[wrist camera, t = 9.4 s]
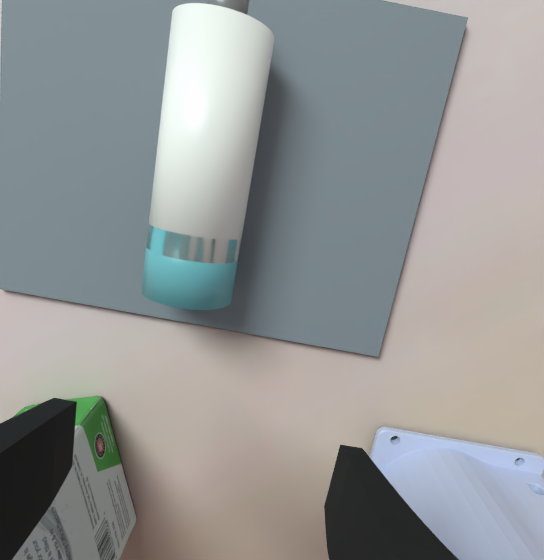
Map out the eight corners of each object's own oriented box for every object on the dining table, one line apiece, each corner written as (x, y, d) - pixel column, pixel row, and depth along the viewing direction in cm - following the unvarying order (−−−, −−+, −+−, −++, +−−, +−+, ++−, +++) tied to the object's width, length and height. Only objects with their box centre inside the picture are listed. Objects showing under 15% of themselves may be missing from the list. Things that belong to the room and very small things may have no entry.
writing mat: (463, 21, 17) (468, 17, 17) (376, 353, 21) (378, 356, 21) (10, -70, 17) (4, -76, 17) (0, 286, 20) (-5, 288, 20)
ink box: (21, 403, 22) (-262, 639, 11) (107, 393, 22) (-87, 624, 10) (60, 531, 24) (-143, 850, 12) (139, 523, 24) (7, 841, 12)
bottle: (278, 23, 17) (283, -25, 13) (234, 290, 20) (226, 316, 16) (187, 3, 17) (165, -51, 13) (155, 277, 20) (128, 299, 16)
